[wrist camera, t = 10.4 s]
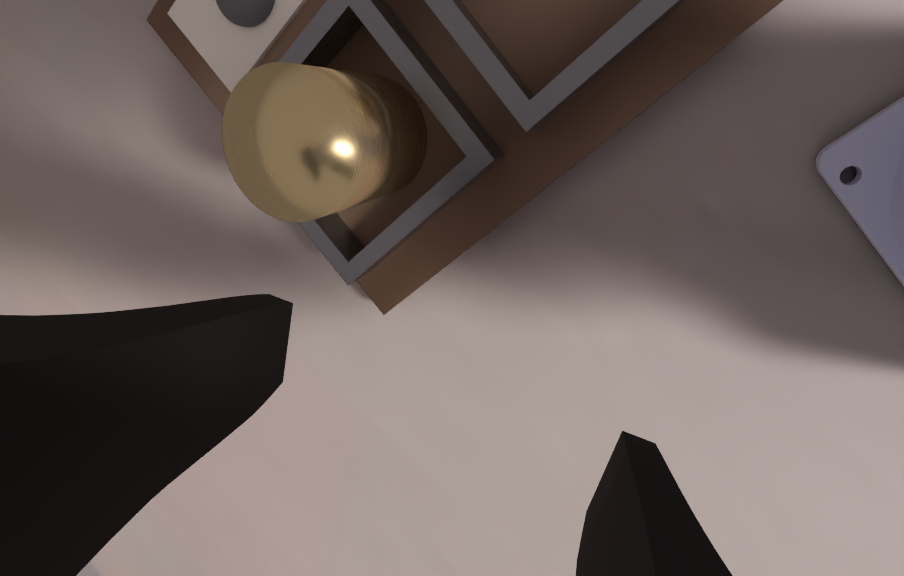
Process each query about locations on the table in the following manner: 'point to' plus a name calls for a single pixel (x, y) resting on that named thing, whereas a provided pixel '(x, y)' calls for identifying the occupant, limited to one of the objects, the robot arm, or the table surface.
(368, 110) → the brass peg
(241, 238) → the table surface
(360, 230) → the board
